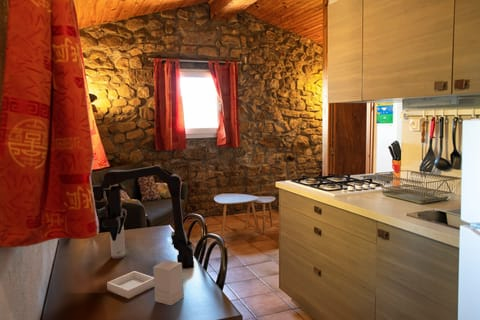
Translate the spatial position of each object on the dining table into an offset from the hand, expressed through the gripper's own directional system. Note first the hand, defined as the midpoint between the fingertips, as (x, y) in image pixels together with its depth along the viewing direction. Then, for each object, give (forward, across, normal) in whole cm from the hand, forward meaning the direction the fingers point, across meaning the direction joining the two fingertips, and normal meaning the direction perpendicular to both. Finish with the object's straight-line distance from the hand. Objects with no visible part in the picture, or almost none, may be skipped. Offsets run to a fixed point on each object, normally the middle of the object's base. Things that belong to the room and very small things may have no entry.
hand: (116, 237), depth 158 cm
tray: (+15, +18, +8) cm, 25 cm away
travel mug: (+15, -18, -4) cm, 24 cm away
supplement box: (+15, +30, +23) cm, 41 cm away
